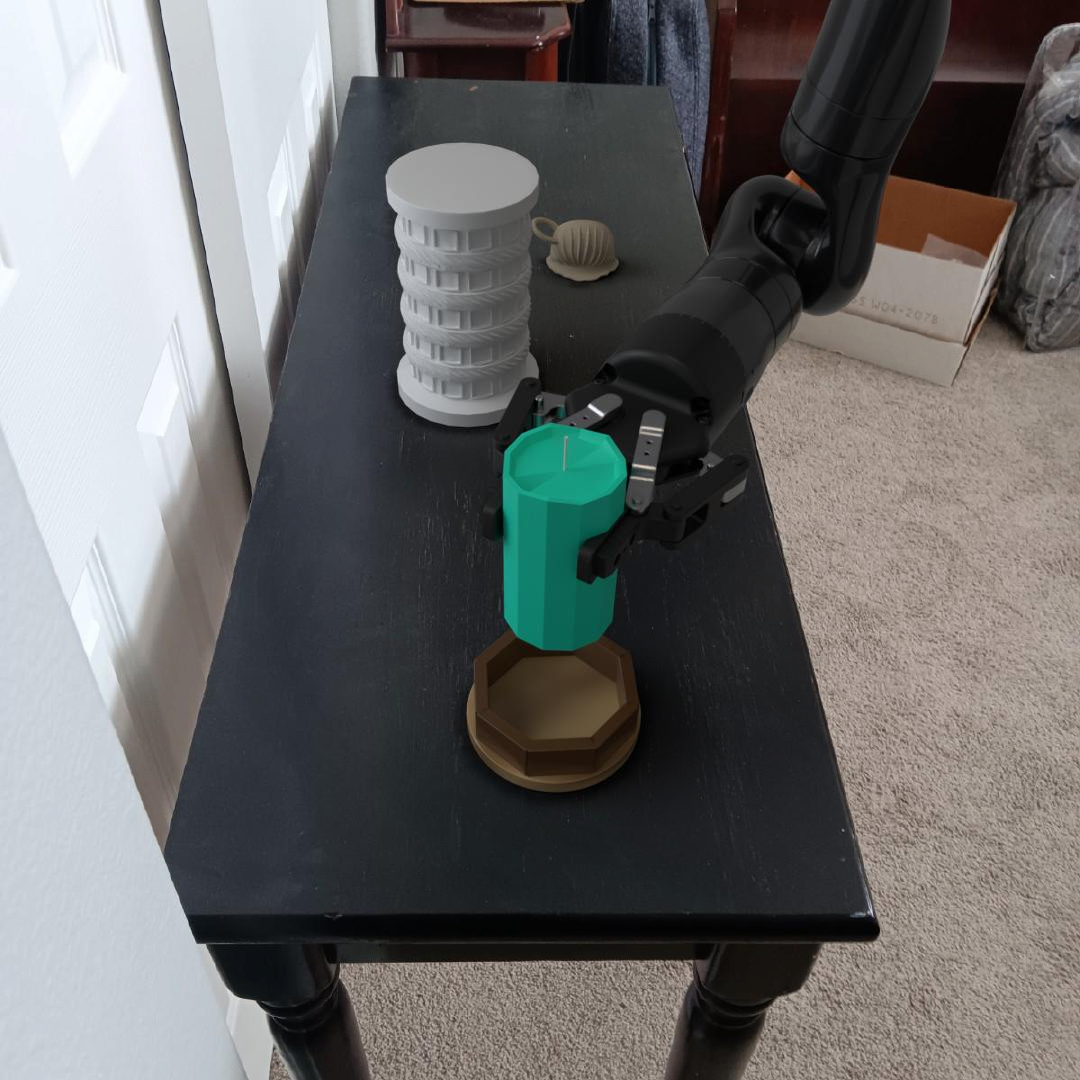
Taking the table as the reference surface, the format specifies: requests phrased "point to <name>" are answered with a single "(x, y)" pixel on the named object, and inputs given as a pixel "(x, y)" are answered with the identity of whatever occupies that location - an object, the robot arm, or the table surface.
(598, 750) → the candle pad
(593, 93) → the table surface
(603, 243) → the decorative ornament
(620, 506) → the candle
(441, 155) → the decorative container
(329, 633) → the table surface
